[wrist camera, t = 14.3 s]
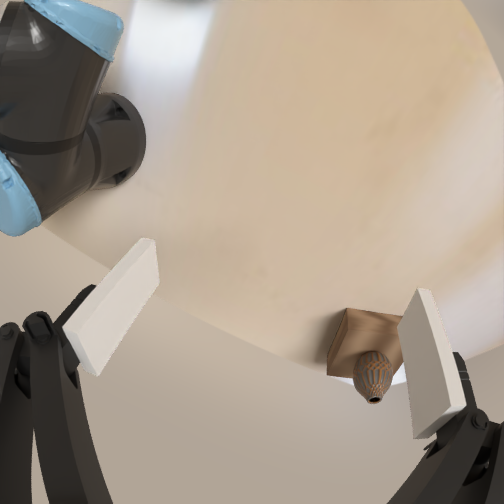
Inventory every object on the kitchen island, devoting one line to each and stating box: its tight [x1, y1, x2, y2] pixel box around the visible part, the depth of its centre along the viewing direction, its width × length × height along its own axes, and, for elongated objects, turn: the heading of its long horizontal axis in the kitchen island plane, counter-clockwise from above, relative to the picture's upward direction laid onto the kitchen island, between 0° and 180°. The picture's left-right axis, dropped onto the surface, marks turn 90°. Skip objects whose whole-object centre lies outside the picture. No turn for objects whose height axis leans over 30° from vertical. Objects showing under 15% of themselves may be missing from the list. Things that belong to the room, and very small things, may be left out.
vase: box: [353, 352, 393, 404], centre depth 42 cm, size 7×7×9 cm
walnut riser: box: [327, 308, 404, 378], centre depth 48 cm, size 13×13×5 cm
